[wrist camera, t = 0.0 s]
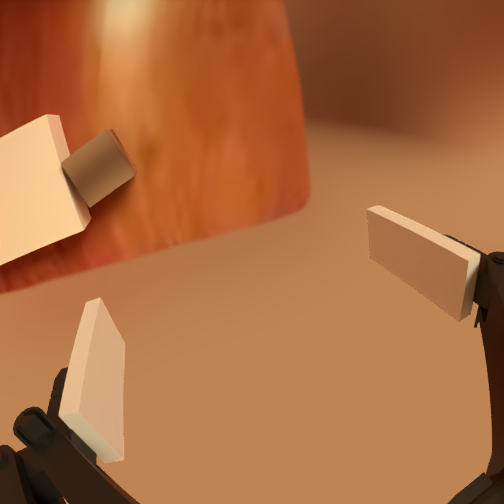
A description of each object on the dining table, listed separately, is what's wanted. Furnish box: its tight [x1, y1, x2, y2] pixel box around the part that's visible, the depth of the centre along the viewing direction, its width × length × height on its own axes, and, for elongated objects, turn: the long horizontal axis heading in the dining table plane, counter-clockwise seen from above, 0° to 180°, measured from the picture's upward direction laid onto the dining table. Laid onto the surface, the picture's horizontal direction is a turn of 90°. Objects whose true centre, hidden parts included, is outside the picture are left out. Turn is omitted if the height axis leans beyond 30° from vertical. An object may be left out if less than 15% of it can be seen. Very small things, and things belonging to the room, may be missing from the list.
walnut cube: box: [61, 130, 137, 208], centre depth 33 cm, size 6×6×6 cm
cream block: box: [0, 114, 91, 265], centre depth 31 cm, size 14×14×5 cm
